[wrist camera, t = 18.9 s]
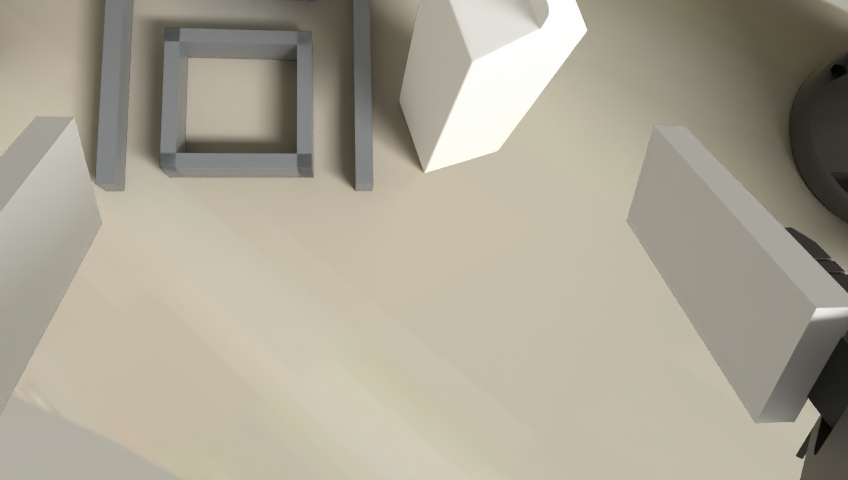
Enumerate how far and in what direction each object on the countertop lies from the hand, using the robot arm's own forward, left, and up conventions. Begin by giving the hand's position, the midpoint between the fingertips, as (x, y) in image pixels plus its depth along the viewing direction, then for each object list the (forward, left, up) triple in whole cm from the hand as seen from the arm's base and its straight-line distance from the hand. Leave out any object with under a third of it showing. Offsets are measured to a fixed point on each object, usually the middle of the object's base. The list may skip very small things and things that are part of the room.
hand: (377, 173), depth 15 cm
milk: (-7, -13, -32) cm, 35 cm away
